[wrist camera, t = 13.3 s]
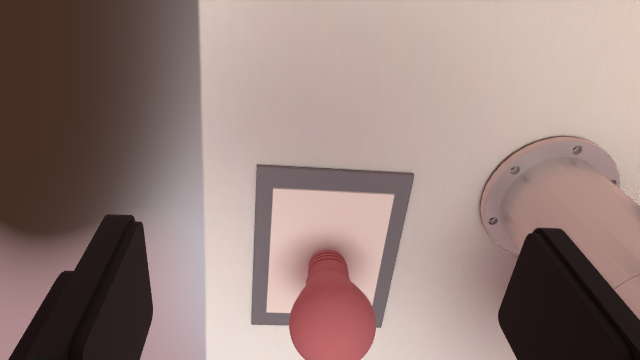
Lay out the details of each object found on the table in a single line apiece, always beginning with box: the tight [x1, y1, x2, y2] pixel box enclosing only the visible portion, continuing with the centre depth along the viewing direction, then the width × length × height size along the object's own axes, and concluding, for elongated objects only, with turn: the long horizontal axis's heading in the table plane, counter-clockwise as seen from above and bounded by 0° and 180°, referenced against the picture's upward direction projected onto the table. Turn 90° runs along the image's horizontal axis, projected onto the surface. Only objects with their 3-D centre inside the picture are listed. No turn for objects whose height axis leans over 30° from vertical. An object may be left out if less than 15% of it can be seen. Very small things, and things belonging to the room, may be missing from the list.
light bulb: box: [289, 250, 376, 360], centre depth 42 cm, size 7×7×12 cm
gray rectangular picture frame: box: [251, 165, 414, 328], centre depth 47 cm, size 19×14×1 cm
